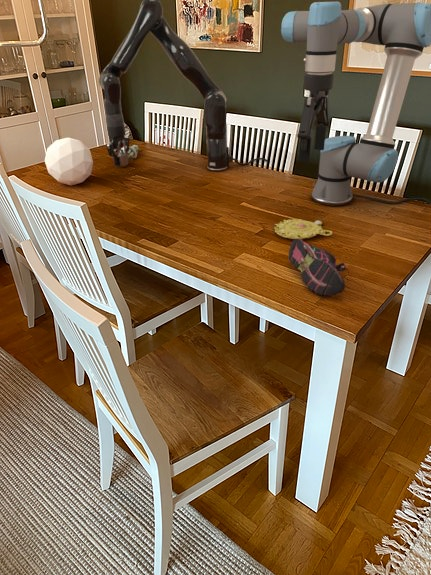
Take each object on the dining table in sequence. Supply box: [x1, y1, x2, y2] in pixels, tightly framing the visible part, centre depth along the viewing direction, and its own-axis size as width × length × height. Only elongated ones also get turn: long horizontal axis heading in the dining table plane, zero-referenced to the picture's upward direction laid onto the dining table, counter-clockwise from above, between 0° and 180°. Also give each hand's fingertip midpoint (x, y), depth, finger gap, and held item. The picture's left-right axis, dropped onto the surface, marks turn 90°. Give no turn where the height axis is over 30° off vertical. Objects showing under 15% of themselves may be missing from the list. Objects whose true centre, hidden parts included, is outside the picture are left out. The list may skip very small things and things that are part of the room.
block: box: [112, 152, 130, 167], centre depth 197 cm, size 4×5×4 cm
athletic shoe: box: [288, 239, 349, 296], centre depth 119 cm, size 11×22×12 cm
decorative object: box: [273, 218, 333, 241], centre depth 145 cm, size 21×2×20 cm
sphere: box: [44, 137, 94, 187], centre depth 189 cm, size 19×20×20 cm
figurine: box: [126, 144, 140, 162], centre depth 221 cm, size 7×8×30 cm
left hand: (121, 163), depth 198 cm, fingers closed on block, 4 cm apart
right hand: (311, 155), depth 125 cm, fingers open, 13 cm apart
